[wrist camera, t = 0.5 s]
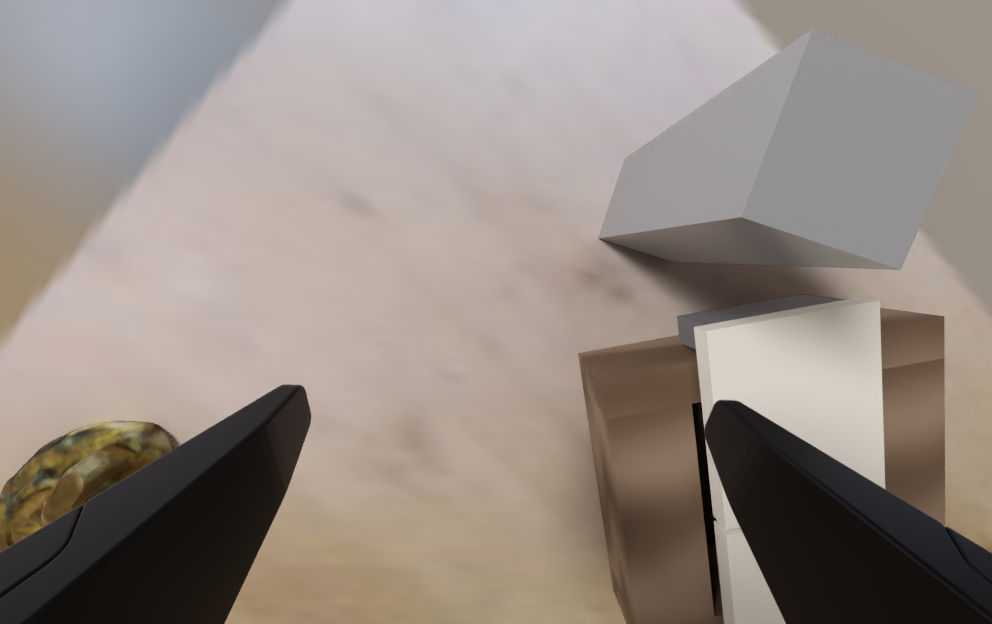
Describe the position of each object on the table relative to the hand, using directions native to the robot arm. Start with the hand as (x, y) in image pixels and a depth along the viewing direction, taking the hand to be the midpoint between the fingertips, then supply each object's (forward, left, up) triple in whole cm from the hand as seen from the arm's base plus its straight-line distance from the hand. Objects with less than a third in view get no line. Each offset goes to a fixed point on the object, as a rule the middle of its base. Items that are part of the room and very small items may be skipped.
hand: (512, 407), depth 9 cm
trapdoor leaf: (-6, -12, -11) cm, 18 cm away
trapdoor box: (-11, -12, -13) cm, 21 cm away
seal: (-8, +26, -14) cm, 30 cm away
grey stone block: (+4, -9, -13) cm, 17 cm away
